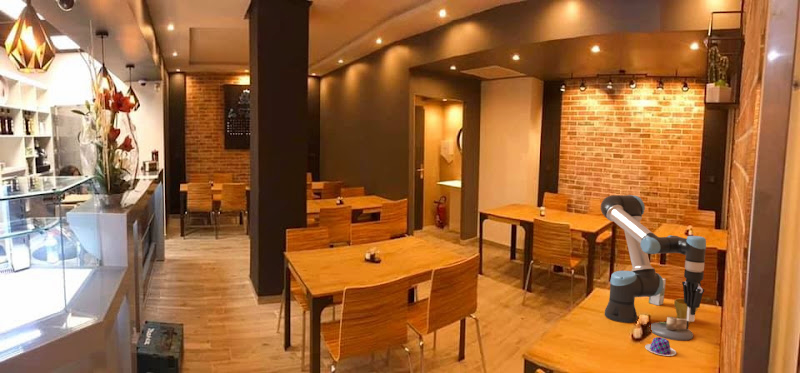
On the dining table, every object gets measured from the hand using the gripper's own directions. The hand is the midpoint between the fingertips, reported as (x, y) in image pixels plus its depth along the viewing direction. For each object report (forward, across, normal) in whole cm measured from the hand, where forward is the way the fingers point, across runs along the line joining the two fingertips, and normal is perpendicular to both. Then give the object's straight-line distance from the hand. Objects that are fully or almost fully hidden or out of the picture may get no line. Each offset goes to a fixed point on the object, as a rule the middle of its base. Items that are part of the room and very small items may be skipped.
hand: (690, 320), depth 223 cm
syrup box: (+8, +49, -11) cm, 51 cm away
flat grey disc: (+8, +7, +5) cm, 12 cm away
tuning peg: (+6, +7, +2) cm, 9 cm away
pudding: (+9, -13, +21) cm, 26 cm away
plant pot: (+9, +24, -12) cm, 28 cm away
